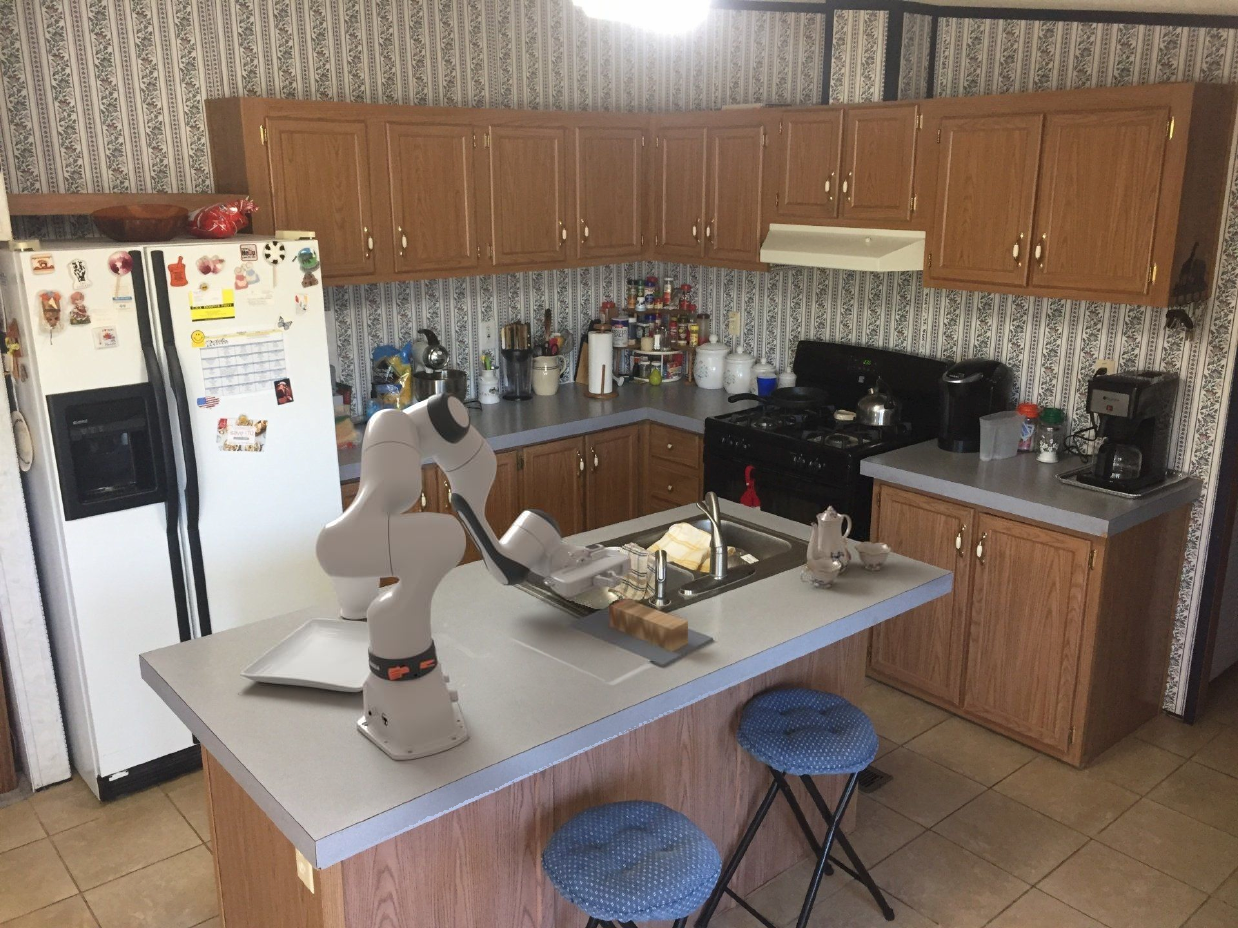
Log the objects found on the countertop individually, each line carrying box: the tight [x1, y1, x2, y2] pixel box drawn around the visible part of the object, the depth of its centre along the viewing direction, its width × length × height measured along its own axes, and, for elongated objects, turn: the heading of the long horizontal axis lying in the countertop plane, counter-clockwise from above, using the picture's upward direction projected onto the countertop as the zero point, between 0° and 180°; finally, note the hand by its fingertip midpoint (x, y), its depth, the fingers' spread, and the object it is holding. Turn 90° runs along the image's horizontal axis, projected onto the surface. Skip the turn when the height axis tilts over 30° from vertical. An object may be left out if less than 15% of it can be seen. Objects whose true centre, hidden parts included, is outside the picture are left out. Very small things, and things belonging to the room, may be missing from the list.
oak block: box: [608, 598, 689, 651], centre depth 216 cm, size 5×5×18 cm
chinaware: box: [799, 505, 893, 589], centre depth 247 cm, size 28×17×17 cm, turn 131°
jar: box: [330, 577, 381, 621], centre depth 231 cm, size 11×10×15 cm
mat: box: [567, 605, 714, 668], centre depth 219 cm, size 28×16×1 cm, turn 46°
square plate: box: [239, 617, 370, 693], centre depth 209 cm, size 27×27×4 cm
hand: (617, 582), depth 220 cm, fingers closed
